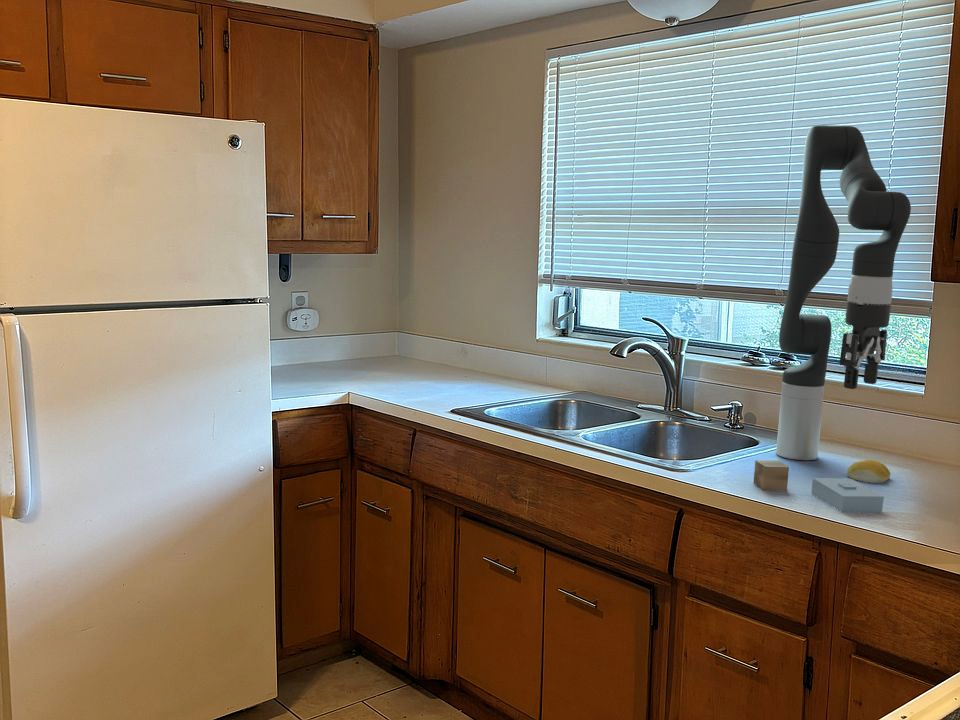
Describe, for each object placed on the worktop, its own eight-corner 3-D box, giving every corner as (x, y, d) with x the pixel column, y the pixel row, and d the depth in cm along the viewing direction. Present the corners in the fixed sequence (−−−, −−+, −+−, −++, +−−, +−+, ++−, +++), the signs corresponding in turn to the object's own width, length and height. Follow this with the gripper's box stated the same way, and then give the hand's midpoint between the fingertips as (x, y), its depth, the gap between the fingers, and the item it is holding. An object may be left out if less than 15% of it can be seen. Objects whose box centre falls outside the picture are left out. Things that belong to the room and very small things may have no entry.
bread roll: (892, 478, 193) (894, 460, 192) (883, 486, 186) (885, 468, 185) (852, 470, 198) (854, 453, 197) (841, 479, 191) (843, 460, 190)
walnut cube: (753, 483, 184) (755, 460, 183) (776, 484, 184) (778, 460, 184) (762, 490, 179) (764, 466, 178) (786, 491, 179) (789, 467, 179)
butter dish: (811, 495, 178) (812, 476, 178) (849, 495, 179) (851, 476, 179) (841, 514, 166) (843, 494, 166) (881, 514, 167) (883, 494, 167)
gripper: (865, 297, 173) (856, 379, 176) (832, 300, 164) (823, 386, 166) (905, 300, 168) (895, 385, 171) (873, 304, 158) (863, 393, 161)
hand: (860, 385), depth 168 cm, fingers open, 8 cm apart
